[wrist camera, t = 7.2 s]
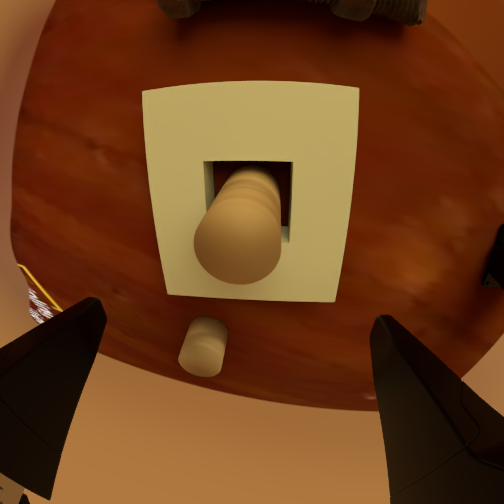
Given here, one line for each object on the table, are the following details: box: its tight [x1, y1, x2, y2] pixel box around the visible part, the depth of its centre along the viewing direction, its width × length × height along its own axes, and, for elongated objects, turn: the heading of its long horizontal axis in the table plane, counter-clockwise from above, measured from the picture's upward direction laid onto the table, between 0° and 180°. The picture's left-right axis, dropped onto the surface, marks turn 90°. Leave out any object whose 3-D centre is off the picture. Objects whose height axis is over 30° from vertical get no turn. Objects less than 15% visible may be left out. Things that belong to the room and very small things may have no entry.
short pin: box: [178, 316, 228, 377], centre depth 23 cm, size 4×4×4 cm
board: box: [142, 81, 359, 302], centre depth 17 cm, size 12×14×2 cm
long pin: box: [194, 164, 281, 285], centre depth 15 cm, size 4×4×8 cm
